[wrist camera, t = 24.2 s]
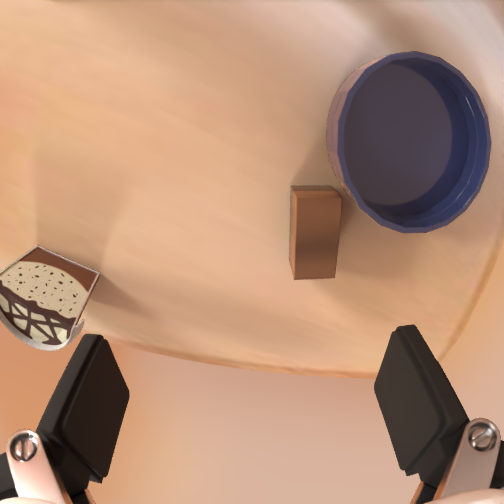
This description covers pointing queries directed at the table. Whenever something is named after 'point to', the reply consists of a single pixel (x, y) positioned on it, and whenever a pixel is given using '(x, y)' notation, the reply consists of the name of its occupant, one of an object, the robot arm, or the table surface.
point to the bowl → (409, 141)
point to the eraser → (314, 231)
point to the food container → (45, 298)
